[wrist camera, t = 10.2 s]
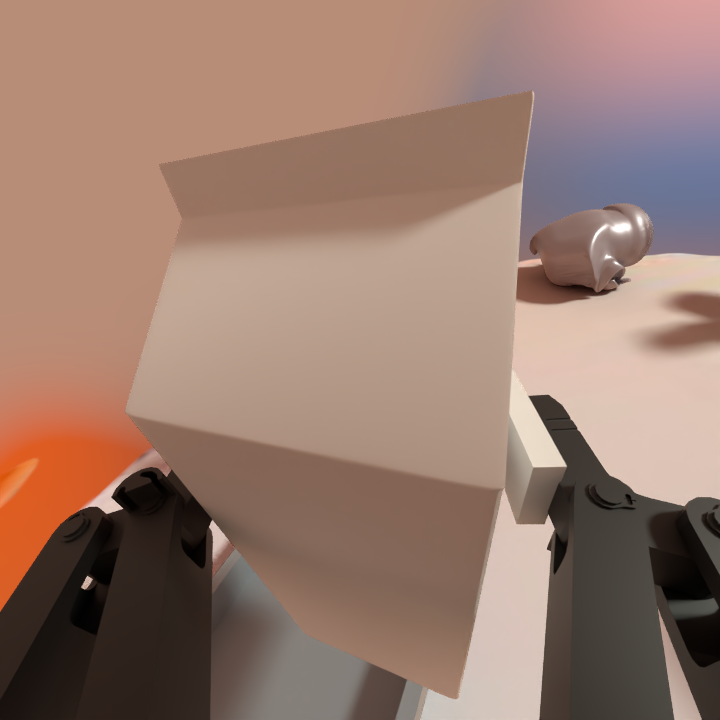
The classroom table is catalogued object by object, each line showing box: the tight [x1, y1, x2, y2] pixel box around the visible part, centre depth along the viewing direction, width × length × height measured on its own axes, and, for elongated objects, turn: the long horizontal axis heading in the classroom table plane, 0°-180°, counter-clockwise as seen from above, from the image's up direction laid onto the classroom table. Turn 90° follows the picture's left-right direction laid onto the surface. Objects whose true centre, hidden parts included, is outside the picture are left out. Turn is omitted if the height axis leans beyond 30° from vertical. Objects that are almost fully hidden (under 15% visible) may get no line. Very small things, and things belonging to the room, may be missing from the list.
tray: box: [210, 548, 428, 720], centre depth 22 cm, size 18×18×4 cm
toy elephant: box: [530, 204, 654, 292], centre depth 66 cm, size 20×18×15 cm
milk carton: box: [125, 91, 534, 699], centre depth 11 cm, size 7×7×19 cm
